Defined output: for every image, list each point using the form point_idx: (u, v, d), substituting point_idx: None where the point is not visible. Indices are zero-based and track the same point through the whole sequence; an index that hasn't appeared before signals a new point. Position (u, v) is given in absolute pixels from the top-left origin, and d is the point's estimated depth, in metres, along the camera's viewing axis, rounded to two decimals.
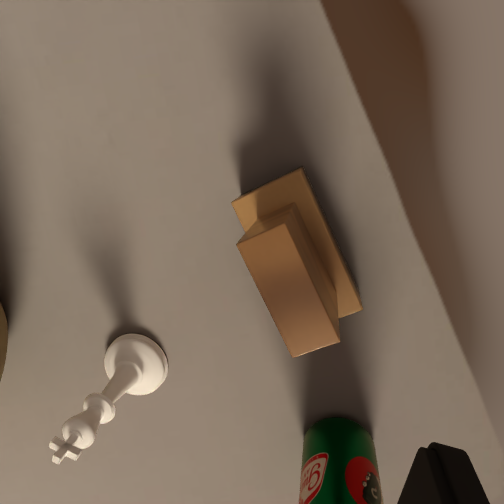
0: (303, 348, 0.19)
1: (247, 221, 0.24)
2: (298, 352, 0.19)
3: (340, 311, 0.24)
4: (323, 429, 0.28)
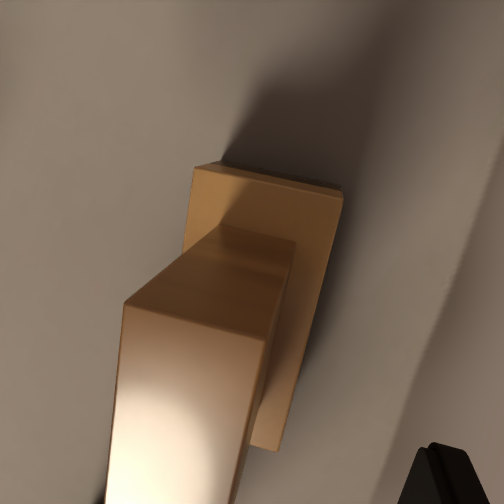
0: None
1: (199, 217, 0.12)
2: None
3: None
4: None
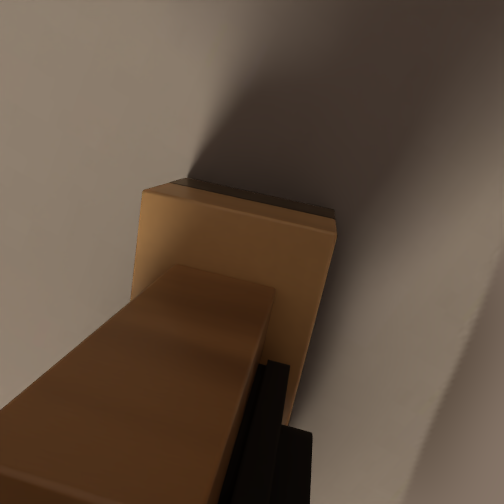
0: None
1: (151, 254, 0.09)
2: None
3: None
4: None
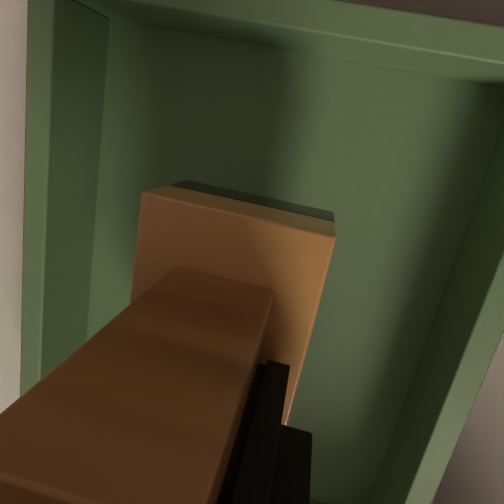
0: None
1: (150, 256, 0.09)
2: None
3: None
4: None
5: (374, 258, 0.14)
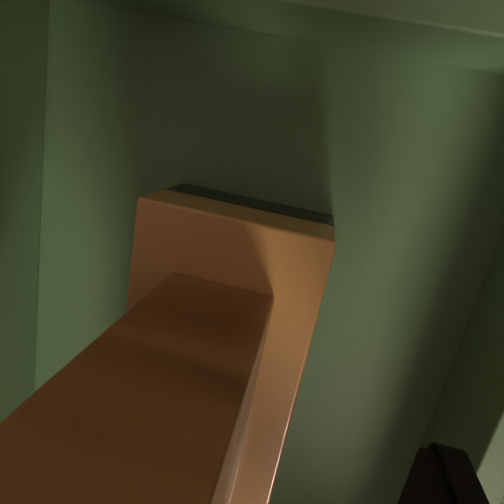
0: None
1: (147, 263, 0.09)
2: None
3: None
4: None
5: (378, 293, 0.12)
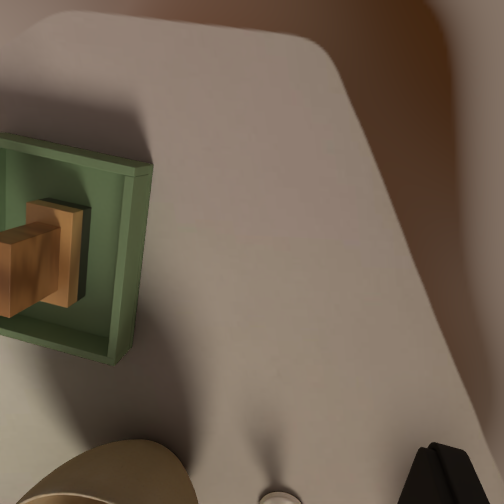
0: None
1: (29, 219, 0.36)
2: None
3: (54, 301, 0.37)
4: None
5: (107, 231, 0.38)
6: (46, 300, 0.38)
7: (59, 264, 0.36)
